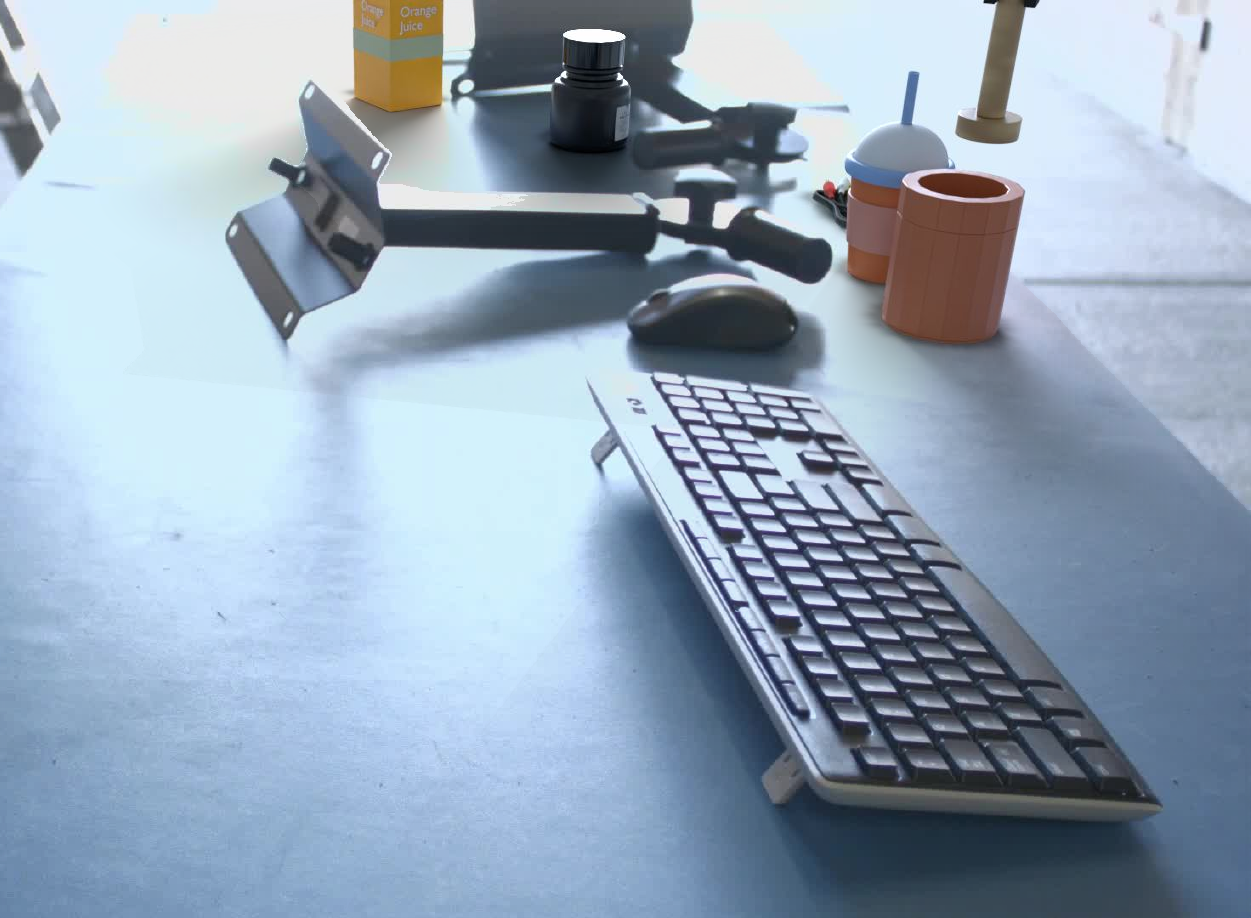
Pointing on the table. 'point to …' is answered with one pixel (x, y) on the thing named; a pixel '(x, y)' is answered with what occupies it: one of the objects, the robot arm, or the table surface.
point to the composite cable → (835, 199)
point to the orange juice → (398, 53)
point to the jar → (951, 255)
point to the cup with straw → (885, 185)
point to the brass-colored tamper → (996, 81)
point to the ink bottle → (590, 93)
